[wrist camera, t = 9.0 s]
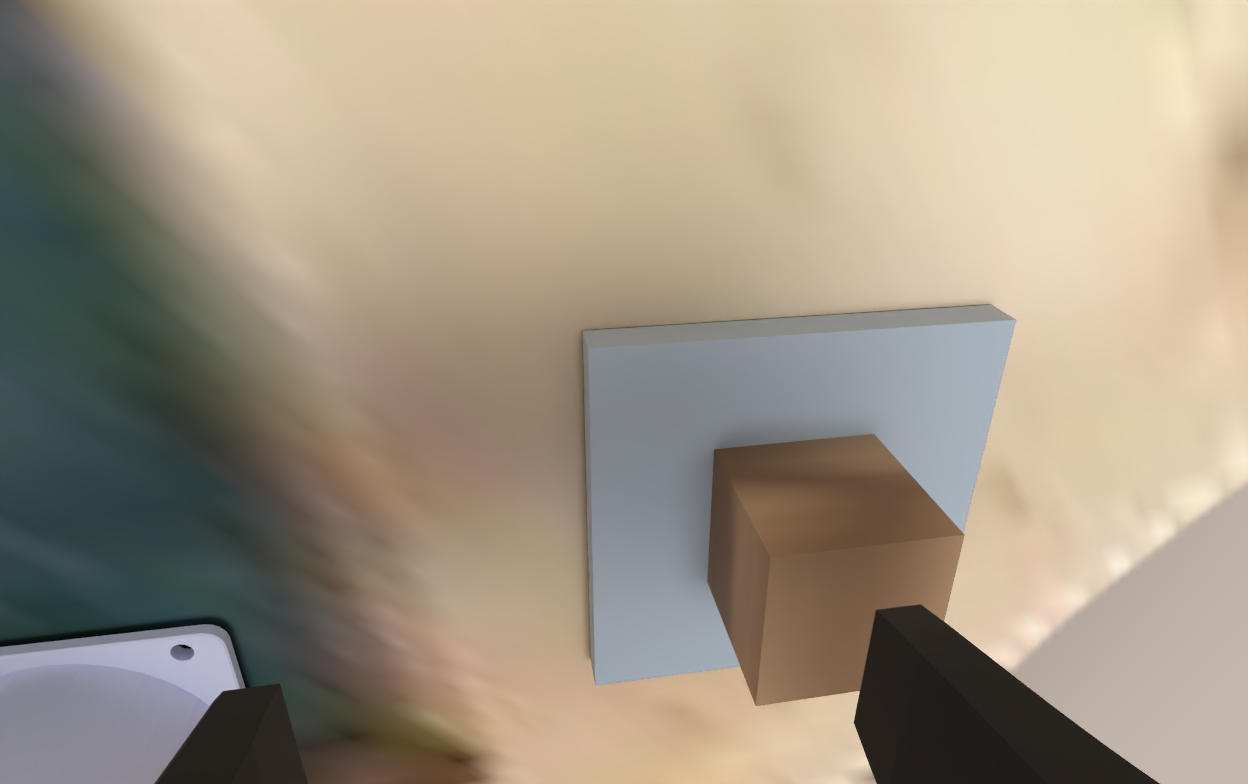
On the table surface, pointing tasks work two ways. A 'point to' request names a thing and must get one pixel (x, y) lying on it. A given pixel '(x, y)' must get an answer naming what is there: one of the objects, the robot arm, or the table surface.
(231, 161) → the table surface
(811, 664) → the walnut cube
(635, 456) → the mat
